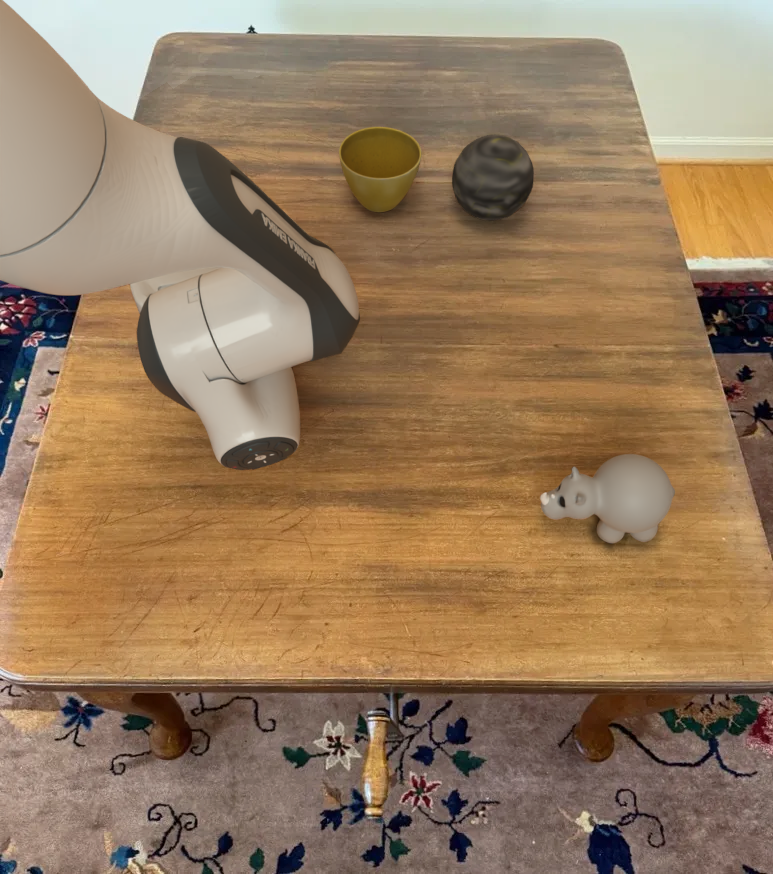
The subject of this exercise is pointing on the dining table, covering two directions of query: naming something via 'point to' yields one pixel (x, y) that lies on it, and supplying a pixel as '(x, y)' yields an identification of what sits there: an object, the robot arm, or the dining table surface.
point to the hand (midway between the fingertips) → (222, 230)
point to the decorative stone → (492, 177)
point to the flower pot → (379, 166)
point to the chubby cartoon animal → (615, 497)
